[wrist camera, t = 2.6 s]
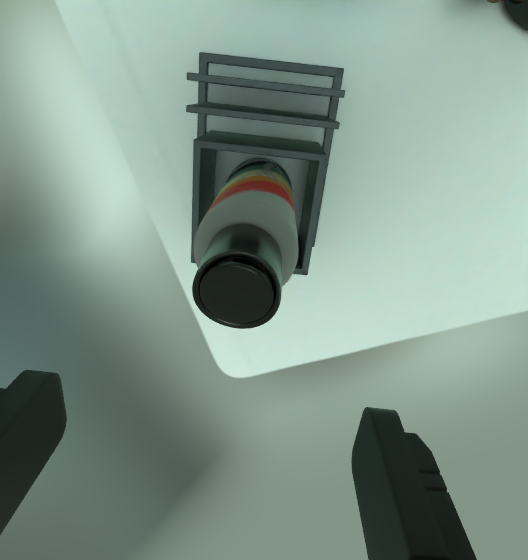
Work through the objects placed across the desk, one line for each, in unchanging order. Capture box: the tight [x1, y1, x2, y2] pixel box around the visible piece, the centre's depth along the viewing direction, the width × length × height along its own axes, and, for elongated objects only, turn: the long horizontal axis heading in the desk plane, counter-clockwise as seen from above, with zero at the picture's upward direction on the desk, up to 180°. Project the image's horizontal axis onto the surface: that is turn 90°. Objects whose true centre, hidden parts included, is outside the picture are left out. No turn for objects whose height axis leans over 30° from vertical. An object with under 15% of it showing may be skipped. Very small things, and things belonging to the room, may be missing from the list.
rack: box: [186, 52, 345, 275], centre depth 29 cm, size 14×11×8 cm
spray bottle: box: [192, 158, 298, 329], centre depth 25 cm, size 6×6×20 cm
